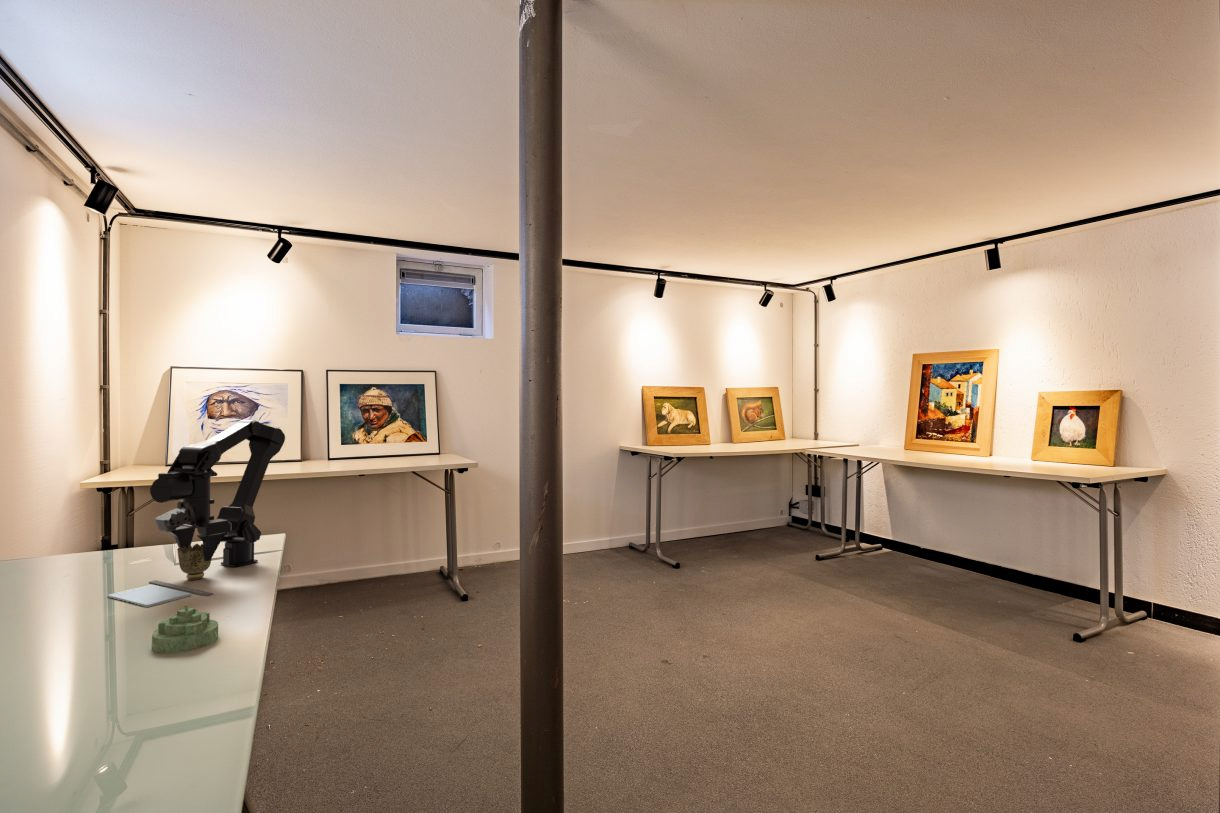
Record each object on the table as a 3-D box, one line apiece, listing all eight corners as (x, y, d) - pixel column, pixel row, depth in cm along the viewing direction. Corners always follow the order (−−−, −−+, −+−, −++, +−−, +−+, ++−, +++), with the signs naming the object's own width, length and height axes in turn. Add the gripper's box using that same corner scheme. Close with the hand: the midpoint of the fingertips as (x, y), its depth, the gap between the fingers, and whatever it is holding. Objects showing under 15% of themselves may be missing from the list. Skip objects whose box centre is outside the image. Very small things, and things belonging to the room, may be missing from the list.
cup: (220, 575, 154) (220, 543, 154) (197, 583, 146) (198, 550, 146) (193, 573, 154) (193, 542, 154) (169, 582, 147) (169, 549, 147)
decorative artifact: (169, 634, 115) (139, 655, 105) (170, 597, 115) (140, 615, 105) (227, 631, 117) (203, 651, 107) (227, 595, 117) (203, 612, 107)
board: (151, 586, 144) (151, 584, 144) (190, 595, 137) (190, 593, 137) (107, 597, 135) (107, 594, 135) (147, 607, 129) (147, 605, 129)
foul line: (155, 581, 147) (155, 580, 147) (212, 594, 138) (212, 593, 138) (148, 583, 146) (148, 581, 146) (206, 596, 137) (206, 594, 137)
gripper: (138, 497, 147) (137, 561, 147) (185, 504, 139) (185, 571, 139) (186, 491, 157) (185, 551, 157) (233, 497, 149) (232, 560, 149)
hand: (196, 558), depth 150 cm, fingers open, 9 cm apart
